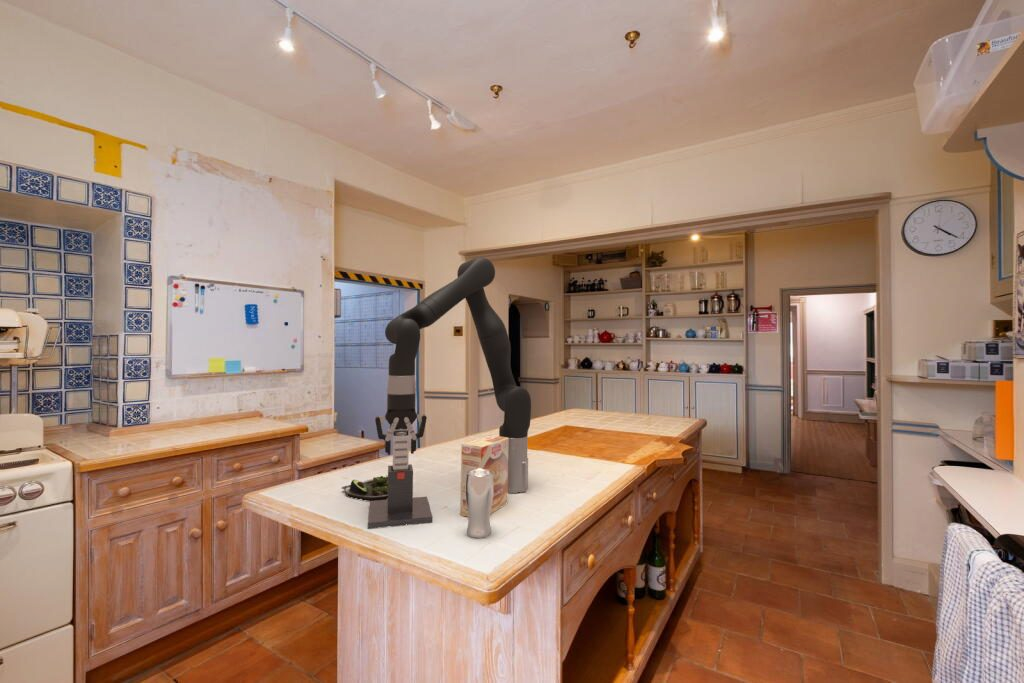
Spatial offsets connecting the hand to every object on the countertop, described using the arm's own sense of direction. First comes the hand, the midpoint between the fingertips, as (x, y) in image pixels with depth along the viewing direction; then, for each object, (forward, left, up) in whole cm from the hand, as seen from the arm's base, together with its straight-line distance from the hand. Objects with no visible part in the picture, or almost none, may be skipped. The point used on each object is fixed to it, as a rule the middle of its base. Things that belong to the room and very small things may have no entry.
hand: (400, 453), depth 121 cm
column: (0, 0, -15) cm, 15 cm away
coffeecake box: (-22, -8, -17) cm, 29 cm away
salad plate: (+15, -16, -17) cm, 28 cm away
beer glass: (-24, +8, -17) cm, 30 cm away
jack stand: (0, 0, -16) cm, 16 cm away
